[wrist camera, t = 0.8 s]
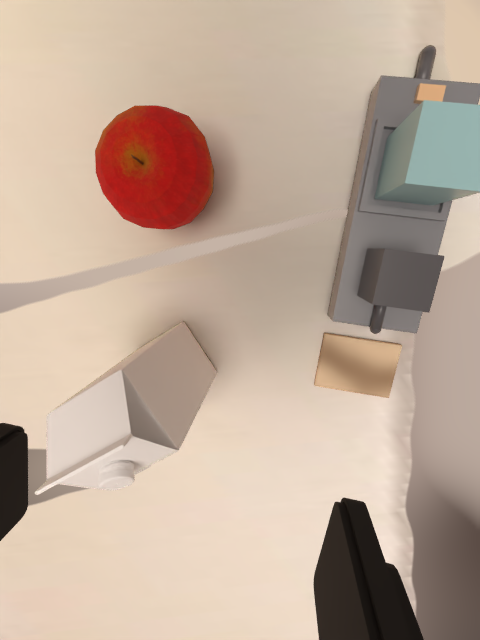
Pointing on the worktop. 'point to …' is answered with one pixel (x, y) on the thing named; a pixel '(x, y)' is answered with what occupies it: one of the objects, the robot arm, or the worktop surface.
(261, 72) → the worktop surface
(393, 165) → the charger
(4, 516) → the robot arm
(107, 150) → the apple
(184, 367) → the milk carton
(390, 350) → the cork pad
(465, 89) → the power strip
